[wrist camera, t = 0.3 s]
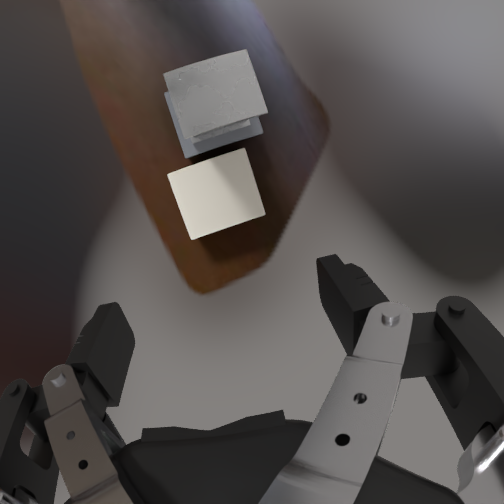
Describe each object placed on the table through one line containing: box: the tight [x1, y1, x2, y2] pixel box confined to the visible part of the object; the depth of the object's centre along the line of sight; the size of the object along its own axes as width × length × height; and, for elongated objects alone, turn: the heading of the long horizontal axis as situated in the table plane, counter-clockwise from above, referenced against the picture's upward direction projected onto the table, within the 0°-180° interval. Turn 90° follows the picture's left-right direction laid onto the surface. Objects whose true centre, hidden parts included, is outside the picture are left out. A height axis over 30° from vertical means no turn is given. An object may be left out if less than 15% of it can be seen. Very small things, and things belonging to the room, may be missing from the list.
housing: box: [163, 49, 268, 144], centre depth 25 cm, size 6×6×11 cm
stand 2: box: [167, 148, 266, 240], centre depth 35 cm, size 8×9×4 cm
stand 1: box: [164, 91, 263, 158], centre depth 32 cm, size 8×9×4 cm
